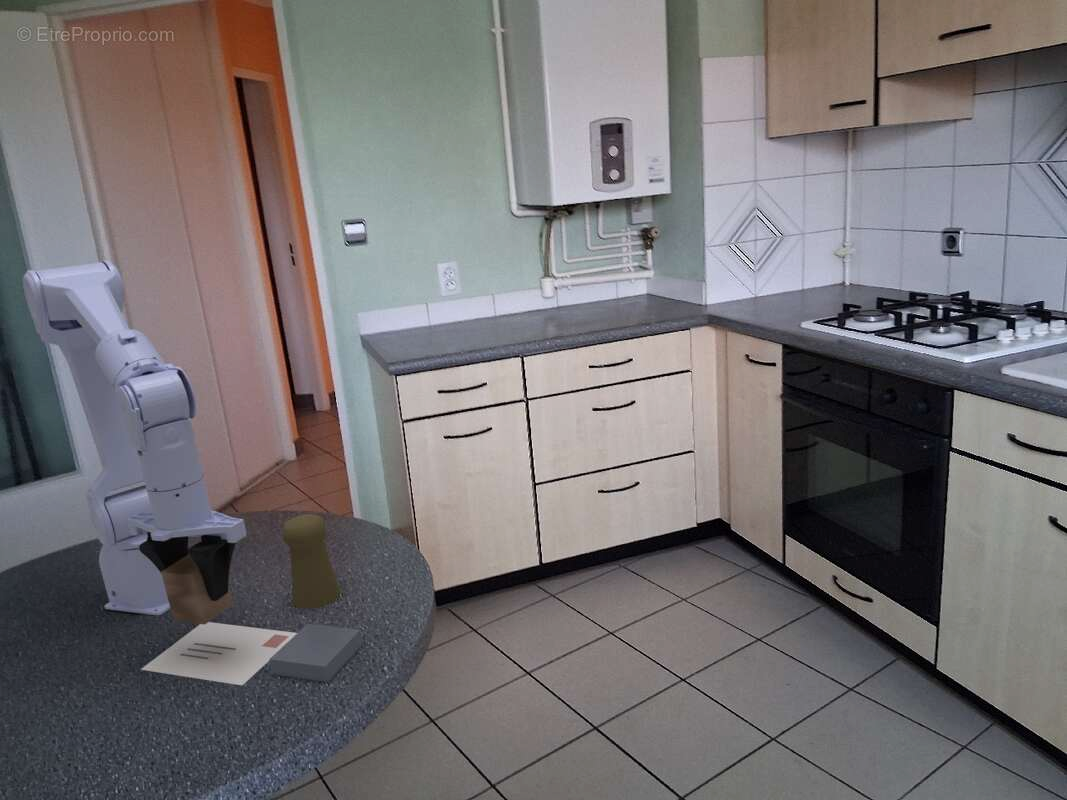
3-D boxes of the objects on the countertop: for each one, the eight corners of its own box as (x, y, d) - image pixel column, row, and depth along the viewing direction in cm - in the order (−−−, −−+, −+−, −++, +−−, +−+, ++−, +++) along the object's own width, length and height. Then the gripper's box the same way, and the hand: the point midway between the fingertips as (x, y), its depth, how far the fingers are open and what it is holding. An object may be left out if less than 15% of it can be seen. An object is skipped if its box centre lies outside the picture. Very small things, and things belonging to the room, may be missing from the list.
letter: (141, 670, 89) (140, 669, 89) (204, 622, 98) (203, 621, 98) (242, 686, 84) (242, 685, 84) (299, 634, 93) (298, 633, 93)
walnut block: (173, 620, 88) (161, 571, 87) (202, 599, 92) (191, 552, 91) (205, 624, 87) (193, 575, 85) (233, 603, 91) (222, 555, 89)
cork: (328, 610, 98) (313, 529, 95) (283, 609, 99) (267, 529, 96) (348, 586, 103) (335, 508, 101) (306, 585, 105) (291, 508, 102)
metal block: (273, 679, 86) (269, 659, 85) (311, 642, 92) (307, 623, 91) (329, 687, 83) (325, 666, 83) (363, 649, 90) (360, 629, 89)
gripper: (94, 493, 85) (124, 606, 88) (202, 499, 80) (229, 619, 83) (145, 469, 91) (171, 576, 95) (248, 473, 86) (271, 586, 90)
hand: (201, 594), depth 89 cm, fingers closed on walnut block, 4 cm apart
